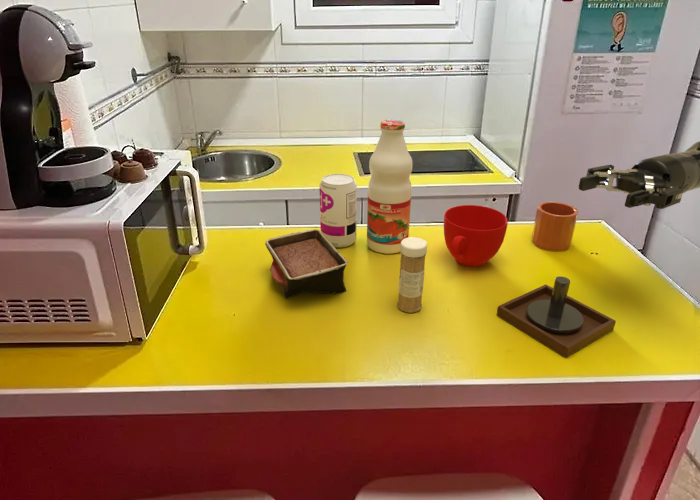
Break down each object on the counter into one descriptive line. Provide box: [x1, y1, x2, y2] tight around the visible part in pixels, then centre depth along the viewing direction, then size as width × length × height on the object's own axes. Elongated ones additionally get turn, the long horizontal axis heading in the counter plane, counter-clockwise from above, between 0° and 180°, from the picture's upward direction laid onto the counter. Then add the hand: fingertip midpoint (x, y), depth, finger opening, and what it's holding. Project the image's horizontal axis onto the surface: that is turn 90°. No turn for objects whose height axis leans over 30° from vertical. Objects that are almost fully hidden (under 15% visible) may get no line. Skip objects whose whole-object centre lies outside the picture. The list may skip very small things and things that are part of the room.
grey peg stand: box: [527, 275, 584, 333], centre depth 90 cm, size 9×9×8 cm
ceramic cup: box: [443, 204, 509, 267], centre depth 108 cm, size 13×17×10 cm
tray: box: [496, 284, 617, 359], centre depth 91 cm, size 14×13×2 cm
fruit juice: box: [366, 118, 413, 255], centre depth 111 cm, size 9×9×28 cm
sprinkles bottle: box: [397, 236, 428, 314], centre depth 93 cm, size 5×5×13 cm
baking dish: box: [264, 228, 349, 299], centre depth 102 cm, size 14×18×10 cm
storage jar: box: [531, 201, 579, 252], centre depth 117 cm, size 8×8×8 cm
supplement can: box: [318, 173, 358, 249], centre depth 116 cm, size 8×8×15 cm
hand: (603, 192), depth 83 cm, fingers open, 8 cm apart
